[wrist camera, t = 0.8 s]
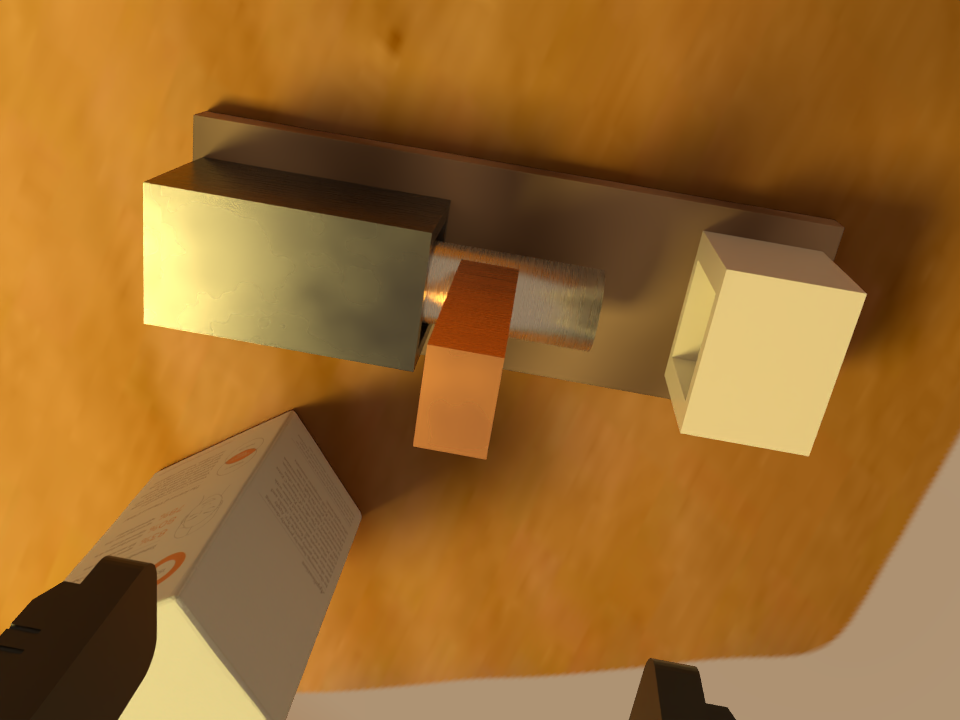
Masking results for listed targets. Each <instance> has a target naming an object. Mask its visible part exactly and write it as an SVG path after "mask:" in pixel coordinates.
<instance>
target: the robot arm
mask: <svg viewBox="0 0 960 720" xmlns="http://www.w3.org/2000/svg"><path fill="white" fill-rule="evenodd" d="M156 641H157V570H156V567H155V565H154V564H152V563H148V562H142V561H137V560H132V559H126V558H121V557H116V556H110V555H107V556H105V557H103V558H102V559H101V560H100V561H99V562H98V563H97V564H96V566H95V567H94V568H93V569H92V570H91V572H90V573H89V574H88V575H87V576H86V578H85V579H84V580H83V581H82V582H81V583H80V584H78V583H73V582H67V581H63V582H62V583H60V584H58V585H57V586H55V587H53V588H52V589H50V590H48V591H46V592H45V593H43V594H41V595H40V596H38V597H36V598H35V599H33V600H32V601H31V602H30V603H29V604H28V605H27V607H26V608H25V609H24V610H23V611H22V612H21V613H20V614H19V615H18V617H17V618H16V619H15V620H14V621H13V622H12V623H11V626H10V628H9V629H6V630H5V631H4V632H3V633H2V634H1V635H0V720H118V719H119V718H120V716H121V714H122V713H123V711H124V710H125V708H126V706H127V705H128V703H129V702H130V700H131V698H132V697H133V695H134V694H135V692H136V690H137V689H138V687H139V686H140V684H141V682H142V681H143V679H144V677H145V676H146V674H147V672H148V669H149V667H150V665H151V662H152V659H153V656H154V652H155V647H156ZM629 720H736V719H735V718H734V716H733V715H732V713H731V712H730V711H729V709H728V708H727V707H722V706H717V705H712V704H706V703H705V698H704V693H703V688H702V683H701V678H700V674H699V671H698V669H697V667H695V666H690V665H685V664H679V663H674V662H669V661H663V660H658V659H652V658H650V659H648V661H647V663H646V665H645V668H644V671H643V675H642V678H641V681H640V685H639V688H638V691H637V695H636V698H635V701H634V704H633V708H632V711H631V714H630V718H629Z"/></svg>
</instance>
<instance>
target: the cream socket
mask: <svg viewBox="0 0 960 720" xmlns="http://www.w3.org/2000/svg"><path fill="white" fill-rule="evenodd" d="M866 295H867V293H865V292H864V291H863V290H862V289H861V288H860V287H859V286H858V285H857V284H856V283H855V282H854V281H853V280H852V279H851V278H850V277H849V276H848V275H847V274H846V273H845V272H844V271H843V270H841V269H840V268H839V267H838V266H837V265H836V264H835V263H834V262H833V261H832V260H831V259H830V258H829V257H828V256H827V255H826V254H825V253H824V252H823V251H817V250H811V249H805V248H800V247H794V246H788V245H782V244H777V243H771V242H765V241H760V240H754V239H748V238H742V237H737V236H731V235H725V234H719V233H714V232H708V231H703V232H702V236H701V240H700V243H699V247H698V251H697V255H696V258H695V262H694V266H693V270H692V273H691V277H690V281H689V285H688V288H687V292H686V296H685V300H684V303H683V307H682V311H681V315H680V318H679V322H678V326H677V330H676V333H675V337H674V341H673V345H672V348H671V352H670V356H669V360H668V363H667V367H666V371H665V379H666V383H667V386H668V390H669V394H670V397H671V401H672V405H673V408H674V412H675V416H676V419H677V423H678V427H679V430H680V433H683V434H688V435H694V436H699V437H705V438H711V439H716V440H722V441H727V442H733V443H738V444H744V445H749V446H755V447H761V448H766V449H772V450H777V451H783V452H788V453H794V454H799V455H805V456H809V454H810V452H811V449H812V446H813V443H814V441H815V438H816V435H817V432H818V429H819V427H820V424H821V421H822V418H823V415H824V413H825V410H826V407H827V404H828V401H829V399H830V396H831V393H832V390H833V387H834V385H835V382H836V379H837V376H838V373H839V371H840V368H841V365H842V362H843V360H844V357H845V354H846V351H847V348H848V346H849V343H850V340H851V337H852V334H853V332H854V329H855V326H856V323H857V320H858V318H859V315H860V312H861V309H862V306H863V304H864V301H865V298H866Z"/></svg>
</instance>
